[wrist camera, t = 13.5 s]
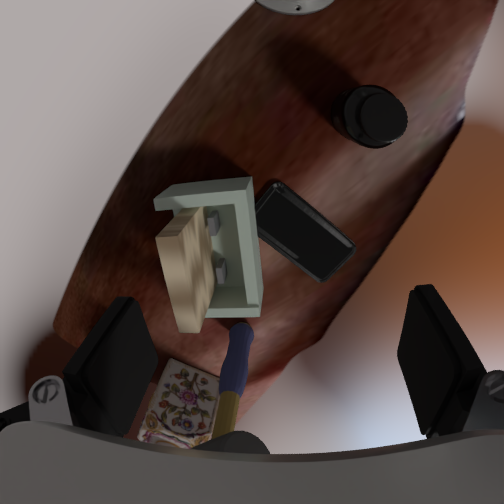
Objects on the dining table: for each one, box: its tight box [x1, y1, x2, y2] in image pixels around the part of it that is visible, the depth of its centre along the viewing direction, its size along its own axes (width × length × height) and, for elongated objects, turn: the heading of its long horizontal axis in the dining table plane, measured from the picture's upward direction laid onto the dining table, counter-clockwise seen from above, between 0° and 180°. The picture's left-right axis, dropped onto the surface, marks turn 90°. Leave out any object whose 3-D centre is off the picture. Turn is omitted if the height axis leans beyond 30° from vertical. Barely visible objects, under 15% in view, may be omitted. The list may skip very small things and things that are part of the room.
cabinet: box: [153, 177, 263, 318], centre depth 41 cm, size 17×11×7 cm, turn 6°
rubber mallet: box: [191, 322, 270, 454], centre depth 38 cm, size 12×8×30 cm, turn 141°
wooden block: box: [155, 206, 218, 333], centre depth 38 cm, size 12×3×12 cm, turn 5°
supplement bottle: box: [331, 85, 408, 149], centre depth 30 cm, size 7×7×12 cm
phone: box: [254, 182, 356, 283], centre depth 43 cm, size 8×1×15 cm
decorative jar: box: [137, 358, 220, 449], centre depth 51 cm, size 12×12×18 cm
